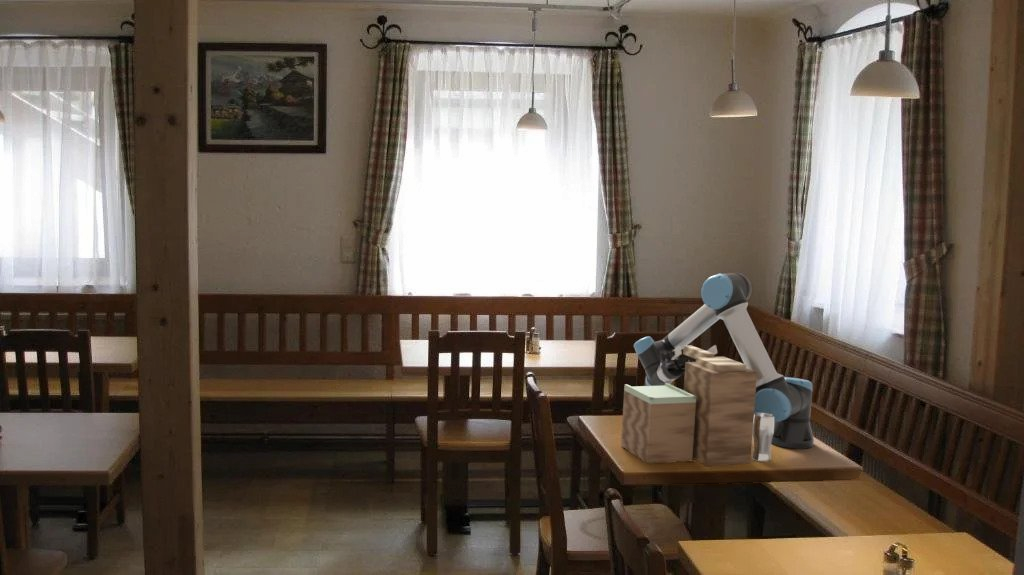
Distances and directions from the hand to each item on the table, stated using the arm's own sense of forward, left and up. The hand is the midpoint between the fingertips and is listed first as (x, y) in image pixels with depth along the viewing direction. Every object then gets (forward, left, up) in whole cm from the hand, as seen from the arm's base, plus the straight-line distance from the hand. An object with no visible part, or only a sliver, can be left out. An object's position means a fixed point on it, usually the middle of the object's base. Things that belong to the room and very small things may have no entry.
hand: (698, 349), depth 345 cm
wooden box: (+11, +16, -33) cm, 39 cm away
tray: (+11, +16, -14) cm, 24 cm away
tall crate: (-8, +13, -33) cm, 36 cm away
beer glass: (-23, +11, -33) cm, 42 cm away
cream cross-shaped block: (-4, +6, -3) cm, 8 cm away
